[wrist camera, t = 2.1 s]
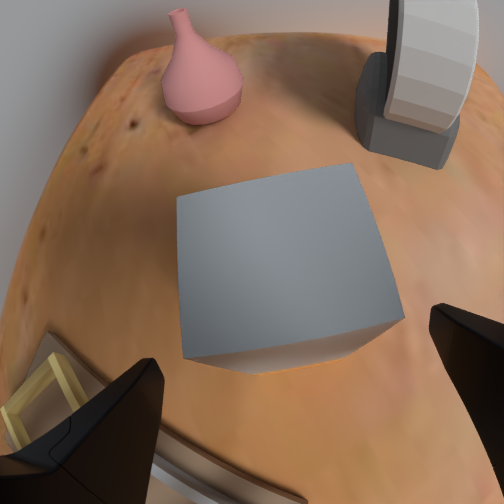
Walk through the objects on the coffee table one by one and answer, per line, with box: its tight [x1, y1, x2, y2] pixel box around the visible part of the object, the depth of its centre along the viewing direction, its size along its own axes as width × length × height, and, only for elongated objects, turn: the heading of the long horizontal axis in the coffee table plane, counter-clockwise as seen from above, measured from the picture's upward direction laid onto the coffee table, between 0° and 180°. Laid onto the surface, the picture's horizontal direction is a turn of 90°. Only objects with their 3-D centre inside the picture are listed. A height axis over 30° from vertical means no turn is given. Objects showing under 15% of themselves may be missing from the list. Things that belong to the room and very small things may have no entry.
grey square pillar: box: [177, 163, 405, 375], centre depth 13 cm, size 4×5×12 cm
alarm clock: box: [355, 0, 479, 170], centre depth 17 cm, size 16×10×18 cm, turn 161°
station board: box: [0, 330, 308, 504], centre depth 14 cm, size 23×13×2 cm, turn 63°
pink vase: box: [161, 8, 243, 125], centre depth 23 cm, size 8×8×12 cm
